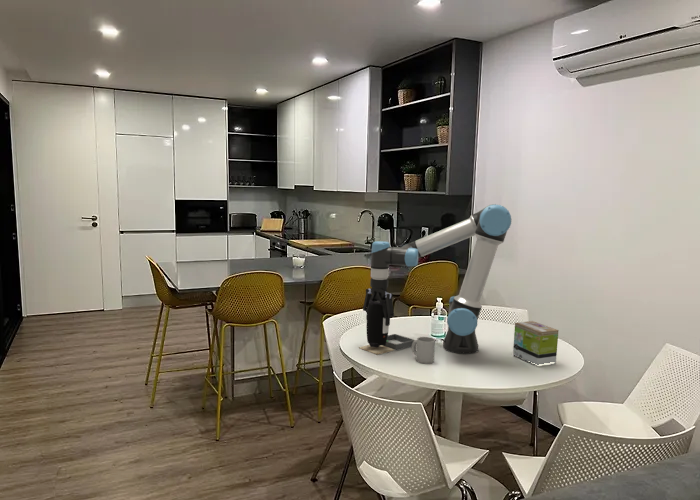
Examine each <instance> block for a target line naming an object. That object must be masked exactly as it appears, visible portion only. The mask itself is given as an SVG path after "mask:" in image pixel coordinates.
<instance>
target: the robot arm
mask: <svg viewBox="0 0 700 500" xmlns="http://www.w3.org/2000/svg"><path fill="white" fill-rule="evenodd" d="M511 225H512V215H511V213H510V211H509V210H508V209H507V208H506V207H505V206H504V205H500V204H496V203H495V204H489V205H487V206H485V207H484V208H482V209H481V210H479V211H477V212H475V213H472V214H471V215H470V217H469V218H467V219H464V220H462V221H460V222H457V223H455V224H453V225H450V226H448V227H445V228H443V229H441V230H439V231H436V232H434V233H433V232H432V233H431V234H428V235H426V236H424V237H420V238H419V239H417V240H415V241H412V242H409V243H405V244H404V245H402V246H401V247H397V246H391V244H390V242H389V241H385V240H384V241H382V240H381V241H380V240H379V241H378V240H377V241H373V242H372V243H371V252H370V253H371V256H370V259H371V260H370V261H371V263H370V283H369V285H370V288H365V297H364V302H363V307H362V310H363V311H365V313H366V317H365V318H366V320H367V311H368V306H369V300H372V301H376V300H379V302H385V301H386V303H383V313H384V316H385V317H384V318H383V333H388V334H389V328H390V327H389V326H390V324H391V318H394V317H395V312H394V303H393V293H392V292H391V293H389V292H388V290H387V289H388V287H389V275H390V274H389V272H390V271H389V269H390V268H389V267H390V266H405V267H416V266H418V264H419V259H420V258H422V257H425V256H426V255H429V254H432V253H434V252H437V251H439V250H443V249H444V248H447V247H449V246H453V245H454V244H457V243H459V242H461V241H464V240H467V239H470V238H471V237H475V238H476V241H475V244H474V247H473V250H472V252H471V257H470V260H469V263H468V265H467V270H466V272H465V275H464V278H463V281H462V284H461V287H460V290H459V294H458V295H456V296H455V295H453V296H450V298H449V302H448V303H449V305H448V306H449V307H448V315H447V318H446V323H447V331H446V334H445V337H444V340H443V343H442V348H443V349H444V350H446V351H448V352H451V353H455V354H465V355H466V354H475V353H478V351H479V343H478V338H477V335H476V334H477V333H476V328H477V327H478V321H479V320H478V319H479V318H480V317H479V316H480V313H481V312H482V311H481V310H482V307H483V305H482V304H481V299H482V298H481V297H482V295H483V292H484V290H485V289H484V288H485V287H486V284H487V280H488V277H489V274H490V271H491V269H492V265H493V262H494V259H495V256H496V253H497V251H498V246H499V245H501V244H503V243H504V242H505V238H506V235H507V233H508V230H510V228H511Z"/></svg>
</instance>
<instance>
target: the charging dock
mask: <svg viewBox="0 0 700 500" xmlns="http://www.w3.org/2000/svg"><path fill="white" fill-rule="evenodd" d="M414 340H415V339H414V338H410V337H406V336H403V335H401V334H400V335H399V334H397V333H392V334H388V336H387V341H386V347H389V348H391V349H394V351H399V350H403V349H408V348H412V343H413V341H414ZM392 341H398V342H400V343H394V342H392ZM383 346H384V345H383Z"/></svg>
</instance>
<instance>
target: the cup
mask: <svg viewBox="0 0 700 500" xmlns="http://www.w3.org/2000/svg"><path fill="white" fill-rule="evenodd" d="M413 340H414V341H413V343H412V346H411V352H412V354H413V355H415V360H416V362H418V363H420V364H425V365H428V364H429V365H430V364H432V363H434V361H435V351H436V350H435V349H436V339H435V338H433V337H430V336H419V337H417V338H416V339H413Z"/></svg>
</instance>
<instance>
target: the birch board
mask: <svg viewBox="0 0 700 500" xmlns="http://www.w3.org/2000/svg"><path fill="white" fill-rule="evenodd" d="M358 348H359V349H360V350H363V351H366V352H369V353H371V354H374V355H376V356H378V355H383V354H386V353H389V352H390V353H391V352H393V351H395V350H394V349H391V348H389V347H386V346H383V345H380V346H379V347H371V346H370V345H369V344H368V345H363V346H359V347H358Z"/></svg>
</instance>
